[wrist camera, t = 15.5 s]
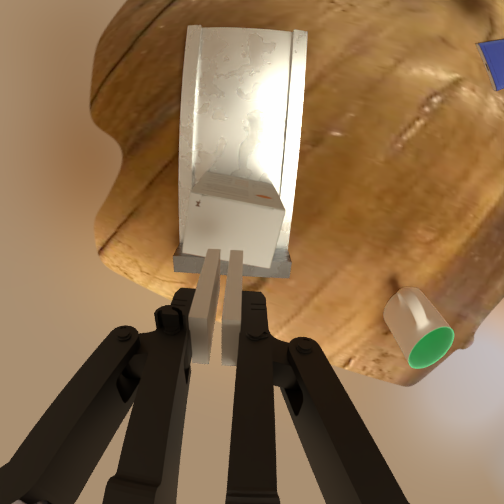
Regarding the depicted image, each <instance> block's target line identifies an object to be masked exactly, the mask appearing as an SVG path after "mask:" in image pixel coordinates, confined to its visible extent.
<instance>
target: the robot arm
mask: <svg viewBox="0 0 504 504" xmlns="http://www.w3.org/2000/svg"><path fill="white" fill-rule="evenodd" d="M220 252H221V249H208V250H207V253H206V257H205V260H204V263H203V267H202V270H201V274H200V277H199V280H198V284H197V287H196V289H191V288H180V289H179V290H178V291H177V292H175V294H174V297H173V300H172V302H171V305H165V306H162V307H160V308H158V309H157V310H156V311H155V313H154V316H155V322H156V328H157V329H156V330H155V331H153V332H149V333H140V334H138V331H137V330H136V329H135V328H134V327H132V326H120V327H117V328H115V329H114V330H112V331H111V332H110V334H109V335H108V336H107V337H106V338H105V339H104V340H103V342H102V343H101V344H100V345H99V346H98V348H97V349H96V350H95V351H94V352H93V353H92V355H91V356H90V357H89V358H88V359H87V361H86V362H85V363H84V364H83V365H82V367H81V368H80V369H79V370H78V371H77V373H76V374H75V375H74V376H73V378H72V379H71V380H70V381H69V382H68V384H67V385H66V386H65V387H64V389H63V390H62V391H61V392H60V394H59V395H58V396H57V398H56V399H55V400H54V402H53V403H52V404H51V405H50V407H49V408H48V409H47V410H46V412H45V413H44V414H43V416H42V417H41V418H40V420H39V421H38V422H37V424H36V425H35V426H34V428H33V429H32V430H31V432H30V433H29V435H28V436H27V437H26V439H25V440H24V442H23V443H22V444H21V446H20V447H19V448H18V450H17V451H16V453H15V454H14V456H13V457H12V458H11V460H10V462H8V463H7V464H5V465H4V466H2V467H1V468H0V504H74V503H75V502H76V500H77V499H78V497H79V495H80V493H81V492H82V490H83V488H84V486H85V484H86V483H87V481H88V479H89V477H90V475H91V473H92V472H93V470H94V469H95V467H96V465H97V463H98V462H99V460H100V458H101V457H102V455H103V453H104V451H105V450H106V448H107V446H108V445H109V443H110V441H111V439H112V438H113V436H114V434H115V433H116V431H117V429H118V428H119V426H120V424H121V423H122V421H123V419H124V418H125V416H126V414H127V413H128V411H129V409H130V408H131V406H132V404H133V403H134V404H133V408H132V411H131V415H130V419H129V423H128V427H127V431H126V435H125V439H124V443H123V447H122V451H121V455H120V460H119V464H118V469H117V472H116V474H115V475H114V476H113V477H111V478H110V479H109V481H108V482H107V485H106V488H105V493H104V498H103V503H102V504H176V497H177V485H178V475H179V464H180V455H181V445H182V436H183V428H184V419H185V412H186V404H187V396H188V390H189V382H190V375H191V366H190V363H191V358H192V362H193V363H200V364H209V359H210V352H211V345H212V337H213V331H214V324H215V317H216V310H217V304H218V297H219V291H220ZM242 272H243V250H230V257H229V265H228V273H227V281H226V289H225V297H224V305H223V314H222V365H228V366H237V369H236V380H235V392H234V405H233V417H232V418H233V419H232V430H231V442H230V455H229V468H228V481H227V493H226V501H225V504H280V499H279V496H278V494H277V477H276V443H275V413H274V388H273V385H275V386H278V387H280V389H281V392H282V395H283V397H284V400H285V402H286V405H287V408H288V410H289V413H290V415H291V418H292V420H293V423H294V425H295V428H296V430H297V433H298V436H299V438H300V441H301V443H302V446H303V448H304V451H305V453H306V456H307V458H308V461H309V463H310V466H311V468H312V470H313V473H314V475H315V478H316V480H317V483H318V485H319V487H320V490H321V492H322V495H323V497H324V499H325V502H326V504H410V503H408V501H407V499H406V497H405V496H404V494H403V492H402V490H401V488H400V487H399V485H398V483H397V481H396V479H395V477H394V476H393V474H392V472H391V470H390V468H389V467H388V465H387V463H386V461H385V459H384V458H383V456H382V454H381V452H380V451H379V449H378V447H377V445H376V443H375V442H374V440H373V438H372V436H371V435H370V433H369V431H368V429H367V428H366V426H365V424H364V422H363V420H362V419H361V417H360V415H359V414H358V412H357V410H356V409H355V406H354V405H353V403H352V401H351V400H350V398H349V396H348V394H347V393H346V391H345V389H344V387H343V385H342V384H341V382H340V380H339V379H338V377H337V375H336V373H335V372H334V370H333V368H332V366H331V365H330V363H329V361H328V359H327V358H326V356H325V354H324V353H323V351H322V349H321V347H320V346H319V344H318V343H317V342H316V341H314V340H313V339H311V338H307V337H298V338H294V339H293V340H291V341H290V343H288V342H284V341H281V340H278V339H276V338H274V337H273V336H272V335H271V334H270V332H269V329H268V319H267V308H266V298H265V296H264V295H263V294H262V293H261V292H253V291H242Z"/></svg>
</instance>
